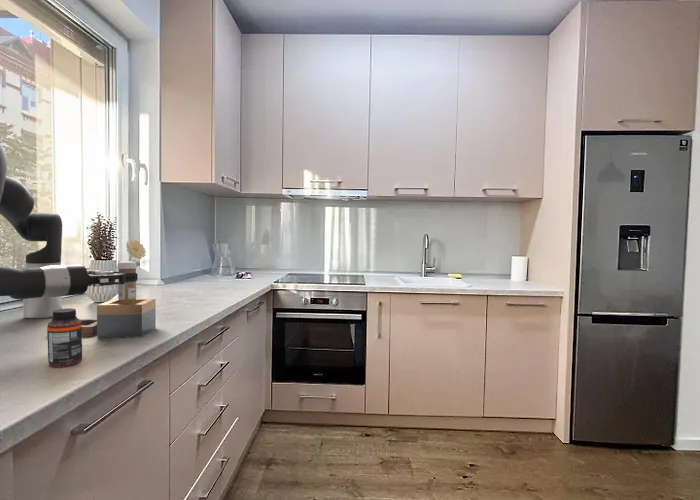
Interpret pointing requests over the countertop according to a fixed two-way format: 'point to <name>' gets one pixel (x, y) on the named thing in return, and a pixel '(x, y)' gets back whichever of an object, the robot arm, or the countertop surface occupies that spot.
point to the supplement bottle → (64, 338)
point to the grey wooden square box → (126, 318)
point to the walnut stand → (88, 327)
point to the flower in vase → (134, 253)
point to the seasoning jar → (127, 283)
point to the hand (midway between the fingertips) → (128, 275)
